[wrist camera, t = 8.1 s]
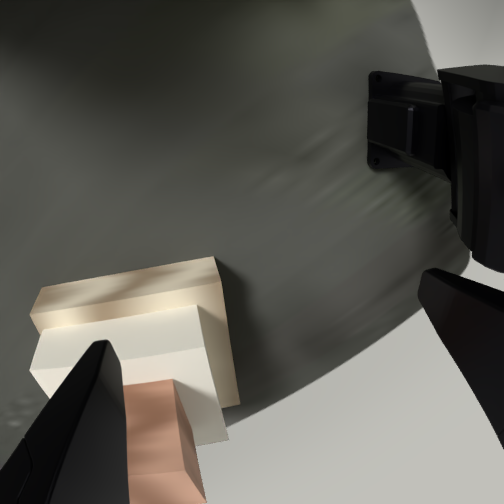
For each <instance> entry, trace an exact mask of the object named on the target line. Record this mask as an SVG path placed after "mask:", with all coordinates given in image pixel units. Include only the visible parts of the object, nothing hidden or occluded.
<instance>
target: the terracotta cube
mask: <svg viewBox="0 0 504 504" xmlns="http://www.w3.org/2000/svg"><path fill="white" fill-rule="evenodd" d="M123 391H124V401H125V410H126V422H127V464H128V484H129V498H130V504H202V503H207V501H206V497H205V493H204V488H203V483H202V479H201V474H200V469H199V464H198V459H197V454H196V448H195V443H194V437H193V432H192V428H191V425H190V423H189V420H188V418H187V416H186V413H185V411H184V408H183V405H182V403H181V400H180V398H179V395H178V392H177V390H176V387H175V384H174V382H173V379H168V380H161V381H154V382H147V383H139V384H131V385H123Z"/></svg>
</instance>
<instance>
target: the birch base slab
mask: <svg viewBox="0 0 504 504" xmlns="http://www.w3.org/2000/svg"><path fill="white" fill-rule="evenodd" d="M196 304H197V309H198V314H199V318H200V323H201V327H202V332H203V336H204V341H205V345H206V349H207V353H208V358H209V362H210V366H211V370H212V374H213V378H214V382H215V386H216V390H217V394H218V398H219V402H220V406H221V408H225V407H230V406H234V405H239V404H240V399H239V393H238V387H237V381H236V375H235V369H234V363H233V357H232V350H231V344H230V337H229V331H228V324H227V317H226V311H225V304H224V297H223V290H222V283H221V279H220V276H219V273H218V269H217V266H216V263H215V260H214V257H207V258H202V259H196V260H191V261H185V262H179V263H174V264H168V265H163V266H157V267H152V268H146V269H141V270H135V271H130V272H124V273H119V274H113V275H108V276H102V277H97V278H91V279H86V280H80V281H75V282H69V283H64V284H58V285H53V286H47V287H42V289H41V291H40V293H39V295H38V297H37V299H36V301H35V304H34V306H33V308H32V310H31V313H30V316H31V318H32V320H33V322H34V324H35V326H36V328H37V330H38V331H39V333H40V335H41V334H42V331H43V330H44V329H51V328H58V327H65V326H72V325H78V324H85V323H92V322H98V321H104V320H110V319H117V318H123V317H129V316H134V315H140V314H146V313H152V312H157V311H163V310H169V309H174V308H180V307H185V306H191V305H196Z"/></svg>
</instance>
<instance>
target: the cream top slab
mask: <svg viewBox="0 0 504 504" xmlns="http://www.w3.org/2000/svg"><path fill="white" fill-rule="evenodd" d="M104 339H107V340H109V341H110V342H111V344H112V346H113V348H114V350H115V352H116V355H117V357H118V359H119V361H120V363H121V368H122V379H123V385H131V384H139V383H147V382H154V381H161V380H168V379H173V382H174V384H175V387H176V390H177V392H178V395H179V398H180V400H181V403H182V405H183V408H184V411H185V413H186V416H187V418H188V420H189V423H190V425H191V428H192V432H193V437H194V443H195V446H199V445H205V444H211V443H216V442H221V441H226V440H229V438H228V434H227V430H226V426H225V422H224V418H223V414H222V410H221V406H220V402H219V398H218V394H217V390H216V386H215V382H214V378H213V374H212V370H211V366H210V362H209V358H208V353H207V349H206V345H205V341H204V336H203V332H202V327H201V323H200V318H199V314H198V309H197V304H196V305H191V306H185V307H180V308H174V309H169V310H163V311H157V312H152V313H146V314H140V315H134V316H129V317H123V318H117V319H110V320H104V321H98V322H92V323H85V324H78V325H72V326H65V327H58V328H51V329H44V330H43V331H42V334H41V336H40V339H39V342H38V345H37V348H36V351H35V354H34V357H33V361H32V364H31V367H30V372H31V373H32V375H33V376H34V378H35V379H36V380H37V382H38V383H39V385H40V386H41V387H42V389H43V390H44V392H45V393H46V394H47V396H48V397H49V398H51V397H52V396H53V394H54V393H55V391H56V390H57V389H58V387H59V386H60V385H61V383H62V382H63V380H64V379H65V378H66V376H67V375H68V374H69V372H70V371H71V370H72V368H73V367H74V366H75V364H76V363H77V362H78V361H79V359H80V358H81V357H82V355H83V354H84V353H85V351H86V350H87V349H88V348H89V346H90V345H91V344H92V343H93V342H94V341H97V340H104Z"/></svg>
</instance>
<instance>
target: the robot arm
mask: <svg viewBox="0 0 504 504" xmlns="http://www.w3.org/2000/svg"><path fill="white" fill-rule="evenodd" d="M437 72H438V77H439V80H441V83H440V82H439V81H435V80H430V79H425V78H420V77H414V76H409V75H403V74H396V73H389V72H382V71H372V72H371V73H370V74H369V101H368V129H367V139H368V154H367V163H368V165H369V166H370V167H372V168H375V169H380V168H400V167H416V168H418V169H421V170H423V171H425V172H428V173H430V174H432V175H434V176H436V177H439V178H441V179H443V180H445V181H447V182H449V183H451V199H452V209H450V219H451V221H452V222H453V223H454V225H455V226H456V227H457V230H458V233H459V235H460V238H461V240H462V241H463V242H464V244H465V245H466V246H467V247H468V248H469V249H470V251H472V258H473V259H474V260H475V261H477V262H479V263H480V264H482V265H483V266H485V267H487V268H489V269H492V270H494V271H497V272H500V273H504V66H496V65H474V66H463V67H454V68H445V69H438V70H437ZM376 75H377V76H378V81H376V79H375V77H376ZM375 158H376V162H375V163H374V159H375ZM418 299H419V301H420V303H421V305H422V306H423V308H424V310H425V312H426V314H427V315H428V317H429V319H430V321H431V323H432V325H433V326H434V328H435V330H436V332H437V334H438V336H439V337H440V339H441V340H442V342H443V344H444V345H445V347H446V348H447V350H448V352H449V353H450V355H451V356H452V358H453V359H454V361H455V363H456V364H457V366H458V368H459V369H460V371H461V372H462V374H463V376H464V377H465V379H466V381H467V382H468V384H469V386H470V387H471V389H472V391H473V393H474V394H475V396H476V398H477V400H478V401H479V403H480V405H481V407H482V408H483V410H484V412H485V414H486V416H487V417H488V419H489V421H490V423H491V425H492V427H493V429H494V431H495V433H496V435H497V437H498V439H499V441H500V443H501V445H502V447H503V449H504V292H503V291H500V290H498V289H495V288H492V287H489V286H487V285H484V284H481V283H478V282H475V281H473V280H470V279H467V278H464V277H461V276H458V275H455V274H452V273H449V272H447V271H444V270H441V269H438V268H431V269H428V270H425V271H424V272H423V273H422V277H421V281H420V285H419V289H418ZM0 504H130V498H129V484H128V464H127V422H126V410H125V401H124V391H123V379H122V368H121V363H120V361H119V359H118V357H117V355H116V352H115V350H114V348H113V346H112V344H111V342H110V341H109V340H107V339H104V340H97V341H94V342H93V343H92V344H91V345H90V346H89V348H88V349H87V350H86V351H85V353H84V354H83V355H82V357H81V358H80V359H79V361H78V362H77V363H76V364H75V366H74V367H73V368H72V370H71V371H70V372H69V374H68V375H67V376H66V378H65V379H64V380H63V382H62V383H61V385H60V386H59V387H58V389H57V390H56V391H55V393H54V394H53V396H52V397H51V398H50V400H49V401H48V402H47V404H46V405H45V407H44V408H43V409H42V411H41V412H40V414H39V415H38V417H37V418H36V419H35V421H34V422H33V424H32V425H31V427H30V428H29V430H28V431H27V433H26V434H25V436H24V438H22V440H21V441H20V443H19V444H18V446H17V447H16V449H15V450H14V452H13V453H12V455H11V456H10V458H9V459H8V460H7V462H6V463H5V465H4V466H3V467H2V469H1V470H0Z"/></svg>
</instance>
